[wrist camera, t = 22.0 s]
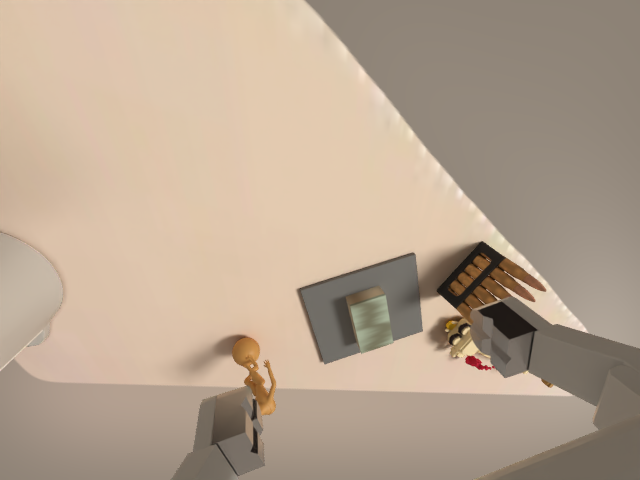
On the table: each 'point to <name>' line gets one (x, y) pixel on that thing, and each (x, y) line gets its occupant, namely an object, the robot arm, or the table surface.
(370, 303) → the pale green streaked tile
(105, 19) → the table surface
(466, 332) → the cat figure
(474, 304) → the ammunition clip
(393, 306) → the rubber mat
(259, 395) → the figurine
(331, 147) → the table surface
